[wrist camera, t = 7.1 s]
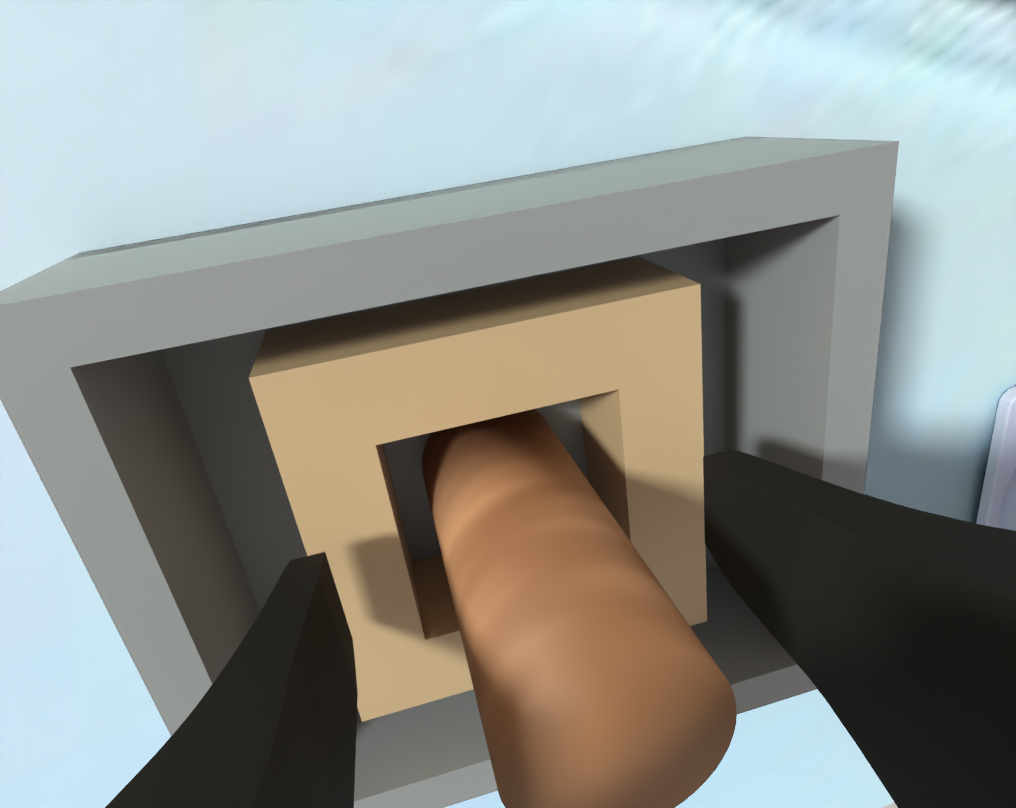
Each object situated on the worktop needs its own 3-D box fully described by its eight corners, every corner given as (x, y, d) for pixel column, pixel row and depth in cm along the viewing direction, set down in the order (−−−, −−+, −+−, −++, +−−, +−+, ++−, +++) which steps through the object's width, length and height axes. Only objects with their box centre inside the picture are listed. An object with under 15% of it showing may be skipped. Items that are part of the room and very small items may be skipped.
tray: (746, 137, 15) (898, 141, 11) (742, 566, 20) (845, 680, 16) (80, 252, 13) (-44, 312, 9) (263, 700, 18) (240, 872, 14)
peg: (547, 382, 15) (735, 617, 8) (563, 500, 16) (738, 793, 9) (408, 415, 15) (474, 696, 7) (436, 533, 16) (517, 869, 9)
